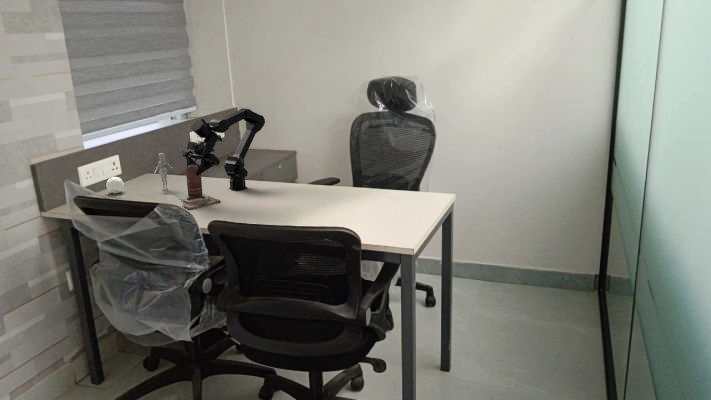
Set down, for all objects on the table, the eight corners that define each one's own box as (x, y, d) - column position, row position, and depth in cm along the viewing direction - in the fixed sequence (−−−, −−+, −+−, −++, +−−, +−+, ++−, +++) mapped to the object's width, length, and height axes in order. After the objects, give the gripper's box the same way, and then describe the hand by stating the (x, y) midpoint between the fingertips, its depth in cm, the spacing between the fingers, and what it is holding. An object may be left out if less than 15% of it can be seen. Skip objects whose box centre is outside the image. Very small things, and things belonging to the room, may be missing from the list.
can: (195, 199, 242) (192, 167, 237) (185, 196, 245) (182, 165, 241) (205, 195, 247) (203, 164, 242) (195, 192, 250) (193, 162, 246)
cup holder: (203, 195, 257) (202, 191, 256) (220, 202, 247) (220, 197, 246) (172, 202, 247) (172, 198, 247) (189, 209, 237) (188, 205, 236)
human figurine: (172, 186, 273) (167, 150, 268) (177, 187, 272) (173, 150, 266) (153, 192, 263) (148, 155, 258) (159, 193, 261) (154, 156, 256)
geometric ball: (119, 199, 265) (116, 188, 258) (103, 192, 265) (101, 182, 259) (128, 187, 269) (126, 177, 263) (113, 181, 270) (110, 170, 264)
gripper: (181, 132, 246) (164, 162, 240) (212, 135, 236) (194, 166, 230) (197, 146, 254) (181, 175, 249) (227, 150, 245) (211, 180, 239)
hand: (191, 174), depth 242 cm, fingers closed on can, 6 cm apart
